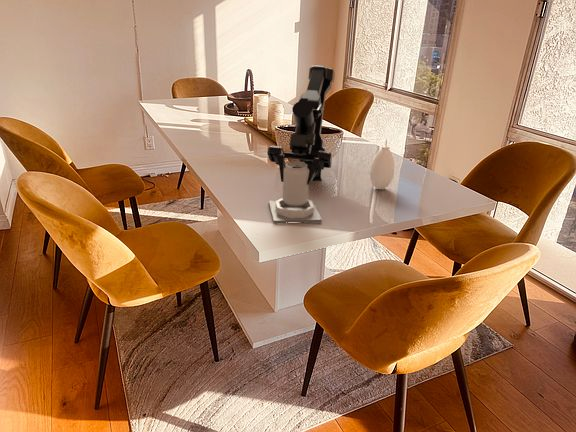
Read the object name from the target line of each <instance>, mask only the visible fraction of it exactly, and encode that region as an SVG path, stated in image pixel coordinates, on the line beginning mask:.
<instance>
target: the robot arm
mask: <svg viewBox="0 0 576 432" xmlns="http://www.w3.org/2000/svg"><path fill="white" fill-rule="evenodd" d="M307 79H308V80H309V81H308V84H307V88H306V91H305V92H303V93H302V94H301V95H300V97H299V99H298V101H296V102H295V104H293V106H292V115H293V119H294V124H295V130H294V133H291V134H290V139H289V150H290V151H284V149H283V146H278V145H270V146H269V147H268V148H267V153H266V154H267V156H268V158H269V161H270V162H272V163H275V164H276V165H277V166H278V167H279V168H278V169H279V174H280V181H281V182H282V183H283V172H284V168H285V167H286V164H287V163H286V161H285V160H286V159H290V160H299V162H303V163H306V164H307V168H308V169H309V178H308V186H309V185H310V184H311V183H312V181H322V180H323V179H322V170H325V168H326V169H330V168H332V164H333V163H332V161H333V159H332V156H333V154H332V153H331V151H326V148H325V147H324V145H325V144H324V143H325V142H324V141H323V139H322V135H321V134H322V127H323V118H324V110H325V103H326V97H327V96H326V95H327V94H328V92H329V91H330V90H331V89H332V85H333V83H334V82H335V81H334V80H335V70H334V69H332V68H331V67H327V66H325V65H317V64H316V65H315V64H314V65H311V67H310V68H309V70H308V77H307Z"/></svg>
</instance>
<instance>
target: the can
mask: <svg viewBox="0 0 576 432" xmlns="http://www.w3.org/2000/svg"><path fill="white" fill-rule="evenodd" d="M285 164H286V165H285V168H284V172H283V182H282V198H283V201H284V202H285V203H286V204H287V205H290V206H301V205H303V204H304V203H306V202H307V200H309V185H308V178H309V169H308V168H307V164H306V163H303V162H300V161H289V162H287V163H285Z"/></svg>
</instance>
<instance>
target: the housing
mask: <svg viewBox="0 0 576 432" xmlns="http://www.w3.org/2000/svg"><path fill="white" fill-rule="evenodd" d="M269 206H270V207H269ZM268 207H269V209H270V210H271V211H270V215H271V214H272V215H271V218H273V219H272V222H274V223H286V222H287V223H288V222H322V217H321V215H320V213H319V211H318V208H317V207H316V204H315V202H314V200H313V199H311V200H310V199H308V200H307V202H306V203H304V204H303V205H301V206H290V205H287V204H286V203H285V202H284V201H283V197H281V198H279V199H277V200H268ZM274 223H273V224H274ZM288 224H289V223H288Z"/></svg>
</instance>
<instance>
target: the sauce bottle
mask: <svg viewBox="0 0 576 432" xmlns="http://www.w3.org/2000/svg"><path fill="white" fill-rule="evenodd" d="M387 144H388V139H387V138H386V140H385V143H384V145H382V146H381V148H380V149H379V150H378V151H377V153H375V156H374V158H373V160H372V162H371V165H370V170H369V178H370V179H369V180H370V183H371V184H372V186H373V187H374V188H375V189H377V190H378V189H382V190H385V189H386V188H388V187H389V186H390V184H391V183H392V181H393V180H394V177H395V176H394V175H395V161H394V156H393V154H392V152H391V150H390V146H389V145H387Z"/></svg>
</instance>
